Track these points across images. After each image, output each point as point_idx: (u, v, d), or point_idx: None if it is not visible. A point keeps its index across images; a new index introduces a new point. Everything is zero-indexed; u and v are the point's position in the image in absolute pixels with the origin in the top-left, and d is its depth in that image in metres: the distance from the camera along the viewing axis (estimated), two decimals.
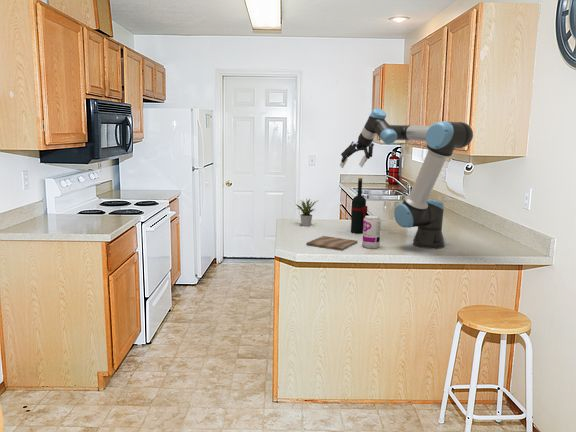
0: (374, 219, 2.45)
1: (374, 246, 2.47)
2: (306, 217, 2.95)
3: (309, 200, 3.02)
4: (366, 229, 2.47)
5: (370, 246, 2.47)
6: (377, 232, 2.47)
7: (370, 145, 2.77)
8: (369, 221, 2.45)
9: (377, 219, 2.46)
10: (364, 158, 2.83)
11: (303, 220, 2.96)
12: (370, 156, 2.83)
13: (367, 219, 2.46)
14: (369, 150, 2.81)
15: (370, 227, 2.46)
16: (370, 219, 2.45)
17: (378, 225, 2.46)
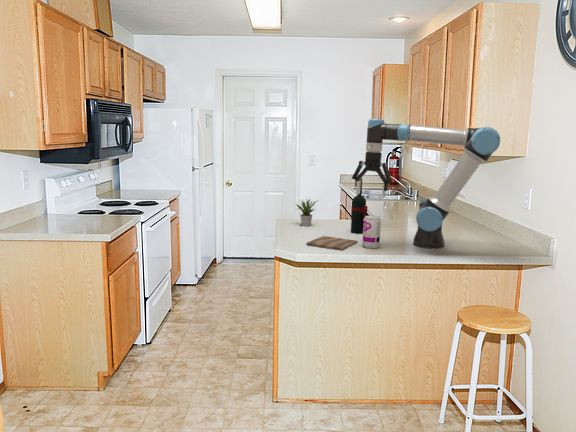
0: (374, 219, 2.45)
1: (374, 246, 2.47)
2: (306, 217, 2.95)
3: (309, 200, 3.02)
4: (366, 229, 2.47)
5: (370, 246, 2.47)
6: (377, 232, 2.47)
7: None
8: (369, 221, 2.45)
9: (377, 219, 2.46)
10: (359, 182, 2.51)
11: (303, 220, 2.96)
12: None
13: (367, 219, 2.46)
14: (358, 171, 2.51)
15: (370, 227, 2.46)
16: (370, 219, 2.45)
17: (378, 225, 2.46)
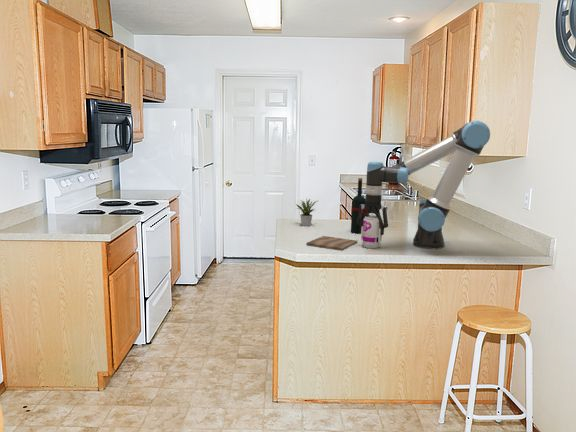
0: (374, 219, 2.45)
1: (374, 246, 2.47)
2: (306, 217, 2.95)
3: (309, 200, 3.02)
4: (366, 229, 2.47)
5: (370, 246, 2.47)
6: (377, 232, 2.47)
7: None
8: (369, 221, 2.45)
9: (377, 219, 2.46)
10: None
11: (303, 220, 2.96)
12: None
13: (367, 219, 2.46)
14: (360, 215, 2.51)
15: (370, 227, 2.46)
16: (370, 219, 2.45)
17: (378, 225, 2.46)
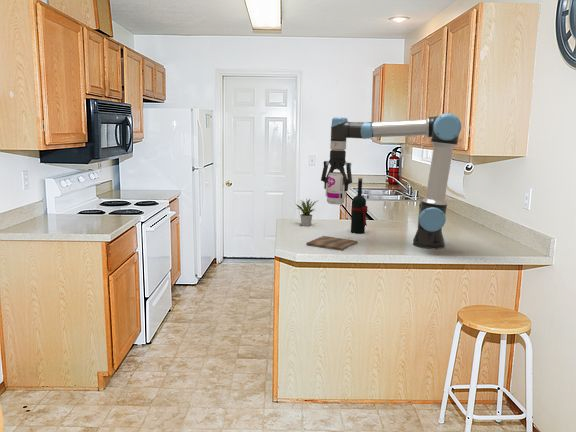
0: (338, 175, 2.45)
1: (338, 202, 2.47)
2: (306, 217, 2.95)
3: (309, 200, 3.02)
4: (330, 185, 2.47)
5: (334, 202, 2.47)
6: (341, 188, 2.46)
7: None
8: (333, 177, 2.45)
9: (341, 175, 2.45)
10: None
11: (303, 220, 2.96)
12: None
13: (331, 175, 2.46)
14: (325, 172, 2.51)
15: (334, 182, 2.45)
16: (334, 175, 2.45)
17: (342, 181, 2.46)
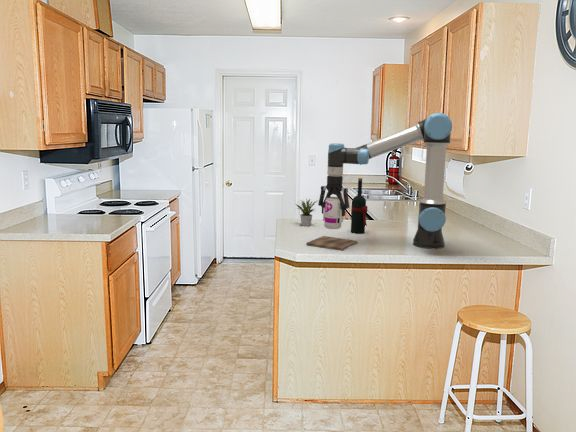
0: (335, 200, 2.47)
1: (335, 227, 2.49)
2: (306, 217, 2.95)
3: (309, 200, 3.02)
4: (327, 210, 2.49)
5: (331, 227, 2.49)
6: (338, 213, 2.49)
7: None
8: (330, 202, 2.48)
9: (338, 200, 2.48)
10: None
11: (303, 220, 2.96)
12: None
13: (328, 200, 2.48)
14: (323, 197, 2.54)
15: (331, 208, 2.48)
16: (331, 200, 2.47)
17: (339, 206, 2.48)
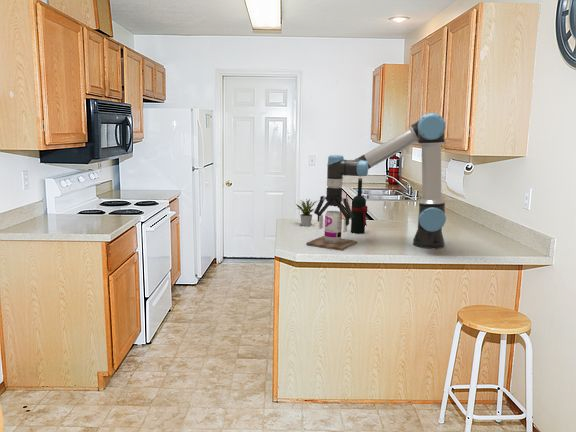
0: (335, 214, 2.48)
1: (335, 241, 2.51)
2: (306, 217, 2.95)
3: (309, 200, 3.02)
4: (327, 224, 2.50)
5: (331, 241, 2.51)
6: (338, 227, 2.50)
7: (324, 198, 2.54)
8: (330, 216, 2.49)
9: (338, 214, 2.49)
10: (321, 217, 2.56)
11: (303, 220, 2.96)
12: None
13: (328, 214, 2.50)
14: (320, 206, 2.55)
15: (330, 222, 2.49)
16: (331, 214, 2.49)
17: (339, 220, 2.49)
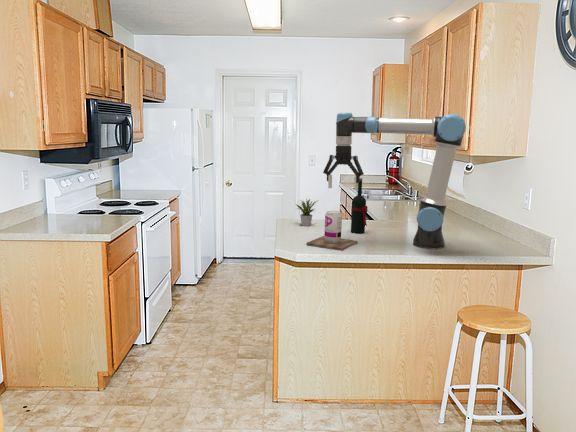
0: (335, 214, 2.48)
1: (335, 241, 2.51)
2: (306, 217, 2.95)
3: (309, 200, 3.02)
4: (327, 224, 2.50)
5: (331, 241, 2.51)
6: (338, 227, 2.50)
7: (333, 157, 2.52)
8: (330, 216, 2.49)
9: (338, 214, 2.49)
10: (331, 176, 2.54)
11: (303, 220, 2.96)
12: None
13: (328, 214, 2.50)
14: (329, 166, 2.53)
15: (331, 222, 2.49)
16: (331, 214, 2.49)
17: (339, 220, 2.49)
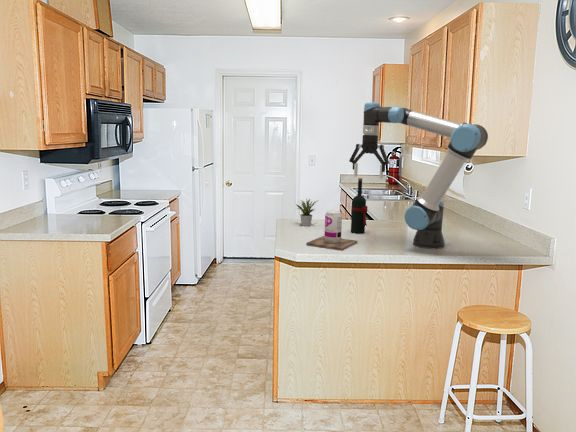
0: (335, 214, 2.48)
1: (335, 241, 2.51)
2: (306, 217, 2.95)
3: (309, 200, 3.02)
4: (327, 224, 2.50)
5: (331, 241, 2.51)
6: (338, 227, 2.50)
7: None
8: (330, 216, 2.49)
9: (338, 214, 2.49)
10: (356, 165, 2.60)
11: (303, 220, 2.96)
12: None
13: (328, 214, 2.50)
14: (355, 154, 2.59)
15: (331, 222, 2.49)
16: (331, 214, 2.49)
17: (339, 220, 2.49)
